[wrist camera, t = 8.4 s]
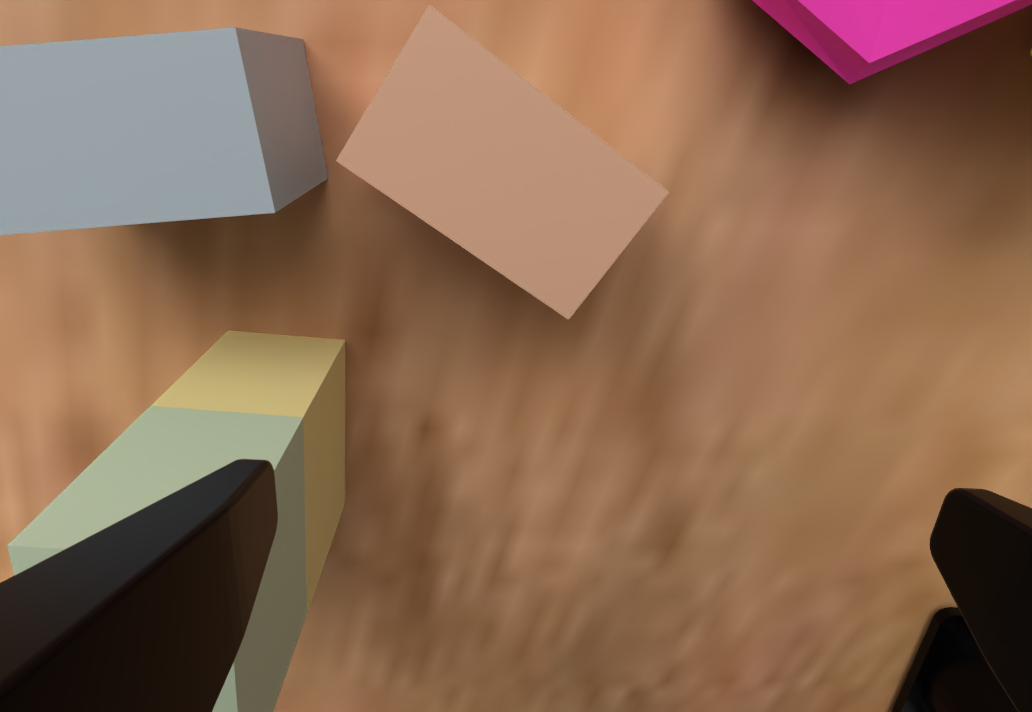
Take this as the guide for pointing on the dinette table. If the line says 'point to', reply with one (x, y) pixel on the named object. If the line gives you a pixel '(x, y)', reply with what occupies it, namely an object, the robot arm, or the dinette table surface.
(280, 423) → the green brick
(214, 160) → the slate brick
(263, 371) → the mustard brick
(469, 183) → the terracotta brick
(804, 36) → the toy
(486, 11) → the dinette table surface
